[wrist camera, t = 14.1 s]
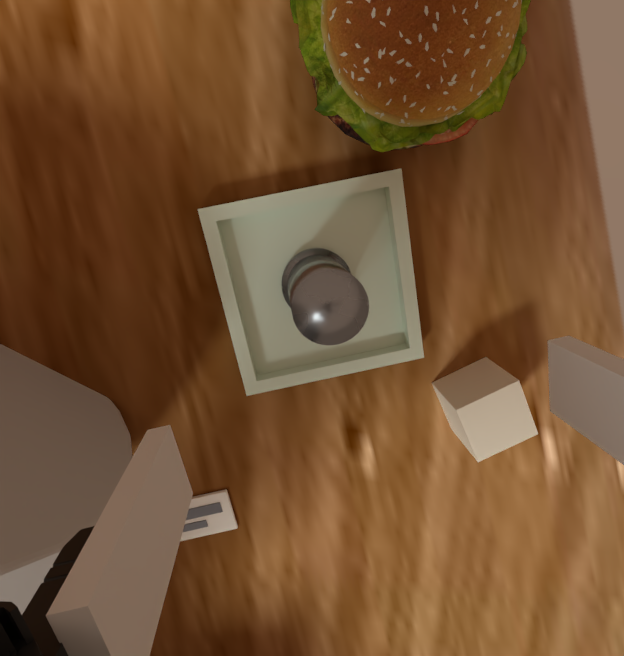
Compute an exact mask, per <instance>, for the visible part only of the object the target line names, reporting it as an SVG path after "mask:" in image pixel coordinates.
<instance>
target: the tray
mask: <svg viewBox="0 0 624 656" xmlns="http://www.w3.org/2000/svg"><path fill="white" fill-rule="evenodd" d="M197 210H198V213H199V217H200V221H201V225H202V229H203V232H204V236H205V240H206V244H207V247H208V251H209V255H210V259H211V263H212V266H213V270H214V274H215V278H216V282H217V285H218V289H219V293H220V297H221V301H222V304H223V308H224V312H225V316H226V320H227V323H228V327H229V331H230V335H231V339H232V342H233V346H234V350H235V354H236V357H237V361H238V365H239V369H240V373H241V376H242V380H243V384H244V388H245V392H246V395H247V396H249V395H254V394H258V393H263V392H268V391H272V390H277V389H281V388H286V387H291V386H295V385H300V384H305V383H309V382H314V381H318V380H323V379H328V378H332V377H337V376H342V375H346V374H351V373H355V372H360V371H365V370H369V369H374V368H379V367H383V366H388V365H393V364H397V363H402V362H406V361H411V360H416V359H420V358H424V352H423V344H422V336H421V327H420V319H419V311H418V302H417V294H416V286H415V277H414V269H413V261H412V252H411V244H410V235H409V227H408V219H407V210H406V202H405V194H404V185H403V177H402V169H401V168H400V169H395V170H390V171H385V172H380V173H375V174H370V175H365V176H360V177H356V178H351V179H346V180H341V181H336V182H331V183H326V184H321V185H316V186H311V187H306V188H301V189H296V190H291V191H286V192H281V193H276V194H271V195H266V196H261V197H256V198H251V199H246V200H241V201H236V202H231V203H226V204H221V205H216V206H211V207H206V208H201V209H197ZM310 248H324V249H328V250H330V251H332V252H334V253H336V254H337V255H338V256H340V257H341V258H342V259H343V260H344V261H345V262H346V264H347V265H348V267H349V269H350V271H351V274H352V275H353V276H354V277H355V278H356V279H357V280H358V281H359V282H360V283H361V284H362V285H363V287H364V289H365V291H366V293H367V296H368V300H369V312H368V317H367V320H366V322H365V324H364V326H363V327H362V329H361V330H360V331H359V333H358V334H357V335H355V336H354V337H353V338H352V339H350V340H348V341H346V342H344V343H341V344H338V345H321V344H317V343H314V342H312V341H310V340H309V339H307V338H306V337H304V336H303V335H302V334H301V332H300V331H299V330H298V328H297V327H296V325H295V323H294V320H293V316H292V311H291V308H290V307H289V305H288V304H287V302H286V301H285V298H284V296H283V292H282V283H281V281H282V275H283V271H284V269H285V267H286V265H287V263H288V262H289V261H290V260H291V259H292V258H293V257H294V256H295V255H296V254H298V253H299V252H301V251H303V250H306V249H310Z"/></svg>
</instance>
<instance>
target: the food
mask: <svg viewBox="0 0 624 656" xmlns="http://www.w3.org/2000/svg"><path fill="white" fill-rule="evenodd" d="M530 2H531V1H530V0H290V7H291V12H292V16H293V20H294V23H297V24H298V25H299V48H300V50H301V53H302V56H303V59H304V62H305V65H306V68H307V71H308V72H309V74H310V76H312V79H313V85H314V88H315V91H316V93H317V107H316V108H315V110H316V111H318V112H319V113H321V114H322V115H323V116H328V117H329V118H330V119H331V120H332V121H333V122H334V123H335V124H336V125H337V126H338V127H339V128H340V129H341V130H342V131H343V132H344V133H345V134H346V135H348V136H350V137H353V138H355V139H357V140H359V141H361V142H363V143H366V144H368V145H371V148H372V150H376V151H379V152H385V151H389V150H398V149H407V148H414V147H419V146H422V145H424V144H425V145H433V144H438V143H443V142H449V141H452V140H454V139H456V138H459V137H461V136H463V135H465V134H467V133H468V132H469V131H470V130H471V128H472V127H473V126H474V125H475V124H476V123H477V122H478V120H480V119H482V118H485V117H486V116H488V115H490V114H493V112H496V111H497V112H500V110H501V108H502V106H503V104H504V101H505V98H506V96H507V92H508V89H509V85H510V82H511V81H512V79H513V78H514V77H515V76H516V74H517V73H518V72H519V71H520V69H521V67H522V66H523V64H524V61H525V58H526V54H527V51H526V48H525V45H524V44H521V40H522V37H523V35H524V34H525V33H526V32H527V20H526V12H527V9H528V7H529V4H530Z"/></svg>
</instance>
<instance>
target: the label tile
mask: <svg viewBox="0 0 624 656" xmlns="http://www.w3.org/2000/svg"><path fill="white" fill-rule="evenodd" d="M233 529H238V525H237V521H236V518H235V515H234V512H233V508H232V505H231V502H230V498H229V495H228V492H227V489H225V490H221V491H216V492H212V493H207V494H203V495H198V496H194V497H192V499H191V503H190V506H189V510H188V514H187V518H186V521H185V525H184V529H183V533H182V536H181V540H180V541H185V540H189V539H194V538H198V537H202V536H207V535H211V534H216V533H220V532H225V531H229V530H233Z"/></svg>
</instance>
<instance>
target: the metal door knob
mask: <svg viewBox="0 0 624 656" xmlns="http://www.w3.org/2000/svg"><path fill="white" fill-rule="evenodd" d="M281 283H282V292H283V296H284V298H285V301H286V302H287V304H288V305H289V307H290V308H291V311H292V316H293V320H294V323H295V325H296V327H297V328H298V330H299V331H300V332H301V334H302V335H303V336H304V337H306V338H307V339H309V340H310V341H312V342H314V343H317V344H321V345H338V344H341V343H344V342H346V341H348V340H350V339H352V338H353V337H354V336H355V335H357V334H358V333H359V331H360V330H361V329H362V327H363V326H364V324H365V322H366V320H367V317H368V312H369V300H368V296H367V293H366V291H365V289H364V287H363V285H362V284H361V283H360V282H359V281H358V280H357V279H356V278H355V277H354V276H353V275H352V274H351V271H350V269H349V267H348V265H347V264H346V262H345V261H344V260H343V259H342V258H341V257H340V256H338V255H337V254H336V253H334V252H332V251H330V250H328V249H324V248H310V249H306V250H303V251H301V252H299V253H298V254H296V255H295V256H294V257H293V258H292V259H291V260H290V261H289V262H288V263H287V265H286V267H285V269H284V271H283V275H282V281H281Z"/></svg>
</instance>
